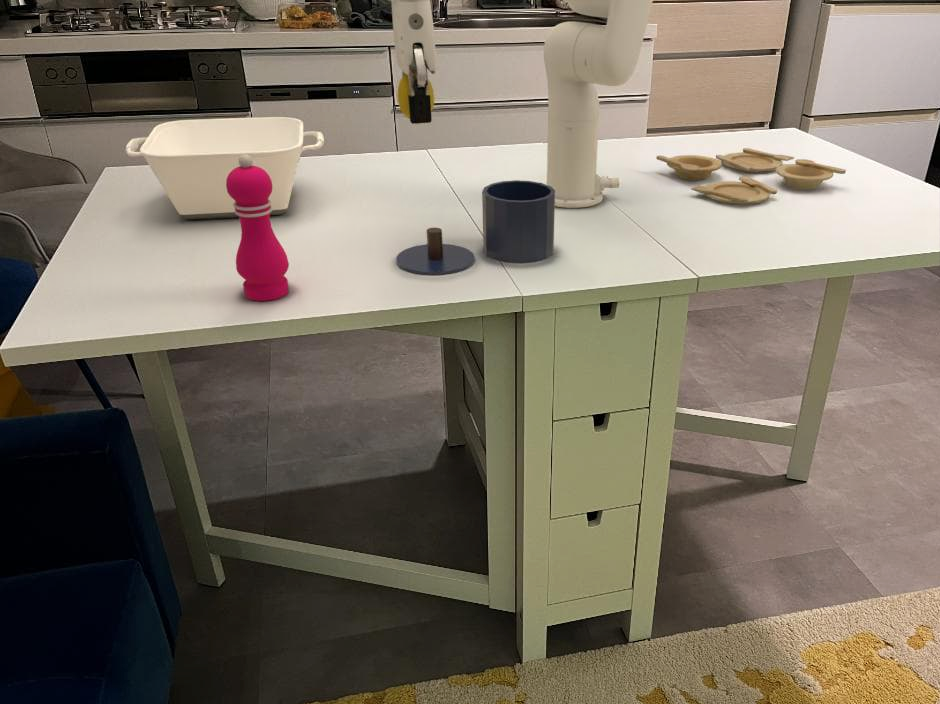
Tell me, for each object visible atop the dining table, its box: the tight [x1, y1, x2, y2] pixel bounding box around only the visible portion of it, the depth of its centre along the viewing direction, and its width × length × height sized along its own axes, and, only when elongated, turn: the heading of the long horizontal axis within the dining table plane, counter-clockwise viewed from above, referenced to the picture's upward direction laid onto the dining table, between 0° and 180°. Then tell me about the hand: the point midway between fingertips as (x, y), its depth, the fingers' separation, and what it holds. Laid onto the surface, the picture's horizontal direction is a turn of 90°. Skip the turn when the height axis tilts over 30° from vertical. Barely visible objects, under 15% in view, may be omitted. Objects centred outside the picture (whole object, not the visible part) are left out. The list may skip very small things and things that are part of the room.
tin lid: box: [395, 227, 476, 276], centre depth 131 cm, size 12×12×6 cm
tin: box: [481, 179, 556, 265], centre depth 135 cm, size 11×11×10 cm
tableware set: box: [655, 147, 847, 205], centre depth 175 cm, size 35×29×4 cm
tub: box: [125, 116, 325, 220], centre depth 153 cm, size 34×27×13 cm
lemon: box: [396, 70, 435, 125], centre depth 127 cm, size 6×6×8 cm
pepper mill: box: [226, 155, 290, 302], centre depth 117 cm, size 7×7×20 cm
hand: (417, 116), depth 128 cm, fingers closed on lemon, 5 cm apart
